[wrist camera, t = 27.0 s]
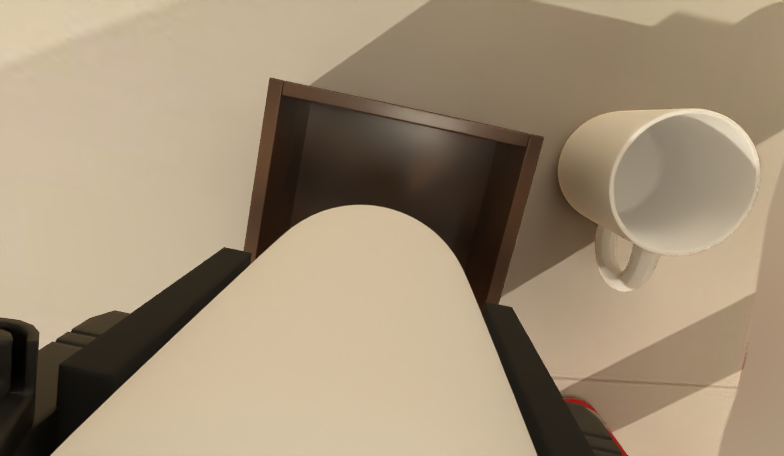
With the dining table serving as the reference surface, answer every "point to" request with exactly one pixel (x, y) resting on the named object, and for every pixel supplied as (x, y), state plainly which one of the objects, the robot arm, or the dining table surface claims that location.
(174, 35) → the dining table surface
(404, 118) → the bin
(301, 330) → the can
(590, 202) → the mug
